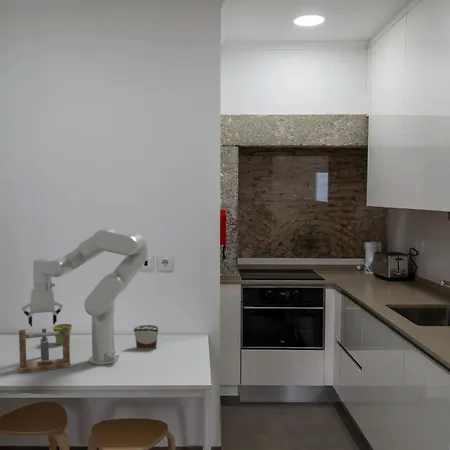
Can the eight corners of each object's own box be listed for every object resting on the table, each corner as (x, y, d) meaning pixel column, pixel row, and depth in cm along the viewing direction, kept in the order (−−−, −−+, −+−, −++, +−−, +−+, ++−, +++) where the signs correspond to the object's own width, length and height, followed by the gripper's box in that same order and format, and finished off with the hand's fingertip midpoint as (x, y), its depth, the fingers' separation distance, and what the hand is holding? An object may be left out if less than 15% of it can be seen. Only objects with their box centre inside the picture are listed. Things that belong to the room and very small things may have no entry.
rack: (68, 360, 235) (67, 324, 234) (70, 367, 227) (69, 329, 225) (20, 366, 228) (18, 328, 226) (20, 373, 219) (19, 334, 218)
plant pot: (67, 346, 255) (66, 329, 255) (49, 345, 257) (48, 328, 257) (76, 341, 265) (76, 324, 264) (59, 340, 267) (58, 323, 266)
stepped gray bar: (48, 361, 234) (48, 331, 234) (41, 362, 233) (40, 331, 232) (48, 356, 242) (47, 326, 241) (41, 356, 240) (40, 327, 239)
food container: (161, 345, 258) (161, 324, 257) (159, 349, 251) (158, 328, 251) (137, 344, 259) (136, 324, 258) (133, 348, 253) (133, 327, 252)
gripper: (62, 284, 242) (62, 321, 243) (21, 286, 235) (21, 324, 237) (63, 287, 235) (63, 325, 236) (21, 289, 228) (21, 328, 230)
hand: (42, 324), depth 236 cm, fingers open, 9 cm apart
